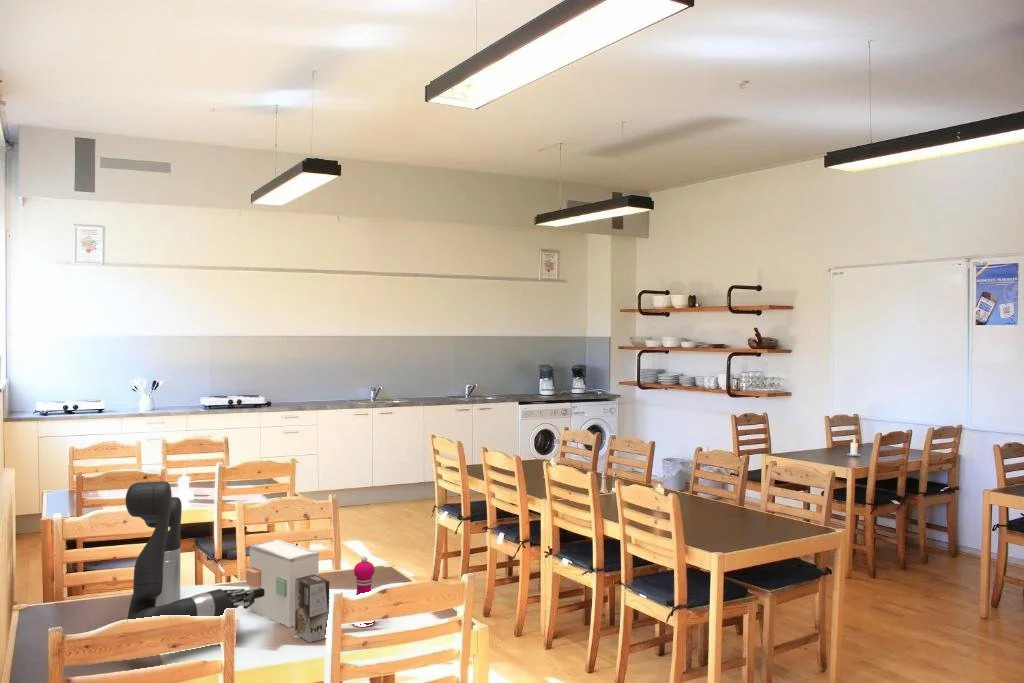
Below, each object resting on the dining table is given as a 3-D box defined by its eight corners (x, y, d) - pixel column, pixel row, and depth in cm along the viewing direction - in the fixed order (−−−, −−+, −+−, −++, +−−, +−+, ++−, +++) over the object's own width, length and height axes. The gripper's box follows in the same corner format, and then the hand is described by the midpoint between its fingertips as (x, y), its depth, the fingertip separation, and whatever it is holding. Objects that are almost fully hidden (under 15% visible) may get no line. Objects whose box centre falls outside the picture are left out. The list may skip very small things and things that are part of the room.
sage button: (275, 593, 242) (276, 578, 242) (287, 590, 245) (287, 575, 244) (284, 596, 239) (284, 581, 239) (296, 593, 242) (296, 578, 242)
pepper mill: (365, 617, 247) (365, 551, 247) (381, 623, 242) (381, 556, 242) (346, 624, 241) (346, 556, 241) (362, 630, 237) (362, 561, 237)
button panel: (249, 609, 253) (249, 545, 252) (277, 601, 260) (278, 539, 260) (289, 627, 238) (289, 559, 238) (318, 618, 245) (318, 552, 245)
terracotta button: (246, 584, 250) (246, 569, 250) (258, 581, 253) (258, 567, 253) (254, 587, 247) (254, 572, 247) (266, 584, 250) (266, 570, 250)
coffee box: (329, 637, 231) (330, 581, 230) (309, 643, 226) (309, 585, 226) (314, 628, 238) (315, 573, 237) (294, 633, 233) (294, 577, 233)
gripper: (219, 598, 218) (276, 583, 231) (194, 587, 227) (250, 574, 240) (219, 626, 219) (275, 610, 232) (194, 614, 227) (250, 599, 240)
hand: (263, 591), depth 236 cm, fingers closed
